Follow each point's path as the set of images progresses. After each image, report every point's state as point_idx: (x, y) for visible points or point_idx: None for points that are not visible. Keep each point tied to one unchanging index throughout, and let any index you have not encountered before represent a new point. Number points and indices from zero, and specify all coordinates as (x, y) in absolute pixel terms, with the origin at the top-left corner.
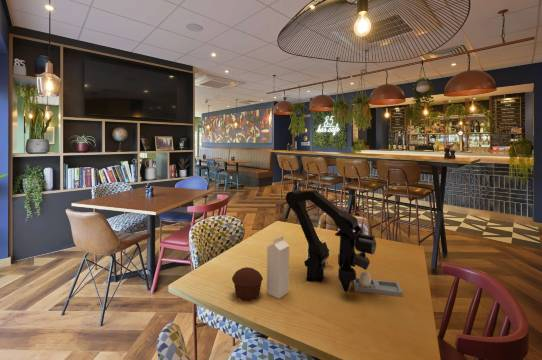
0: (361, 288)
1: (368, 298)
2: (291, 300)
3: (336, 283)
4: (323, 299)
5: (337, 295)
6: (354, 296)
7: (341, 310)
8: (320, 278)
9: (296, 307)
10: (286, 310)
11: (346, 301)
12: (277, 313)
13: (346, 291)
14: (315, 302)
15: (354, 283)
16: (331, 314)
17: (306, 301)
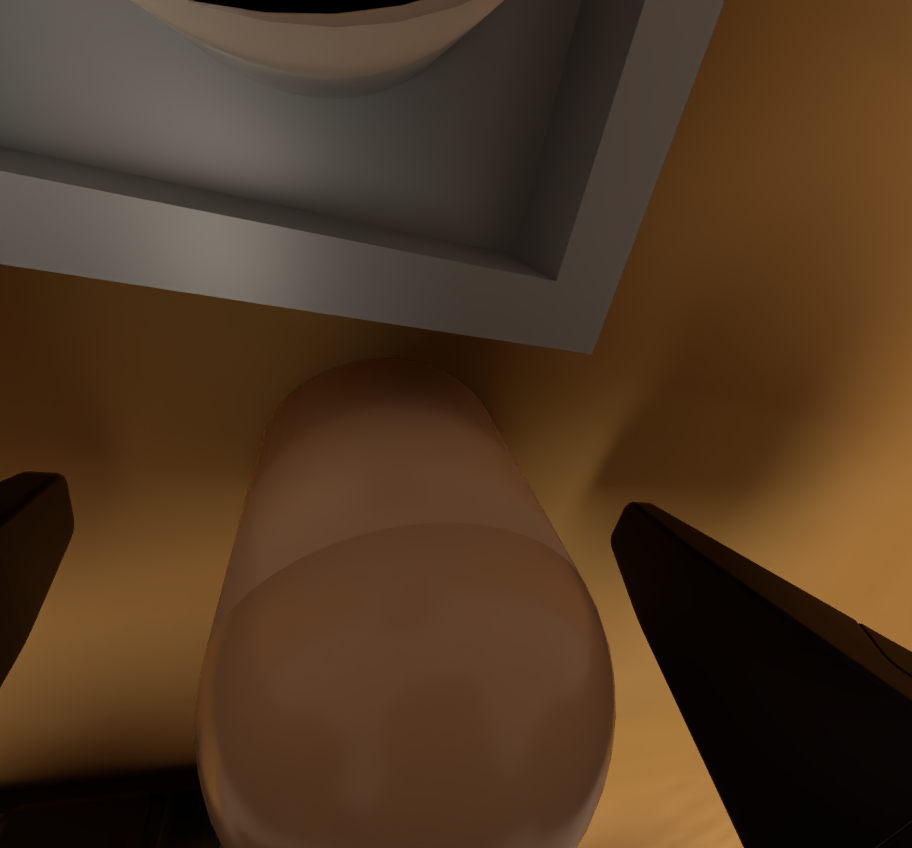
0: (662, 130)
1: (868, 18)
2: (613, 841)
3: (196, 599)
4: (656, 694)
5: (607, 584)
6: (695, 347)
7: (899, 551)
8: (166, 832)
9: (707, 802)
10: (719, 826)
11: (777, 490)
12: (731, 843)
13: (642, 514)
14: (685, 734)
15: (375, 313)
16: (898, 623)
17: (651, 780)
